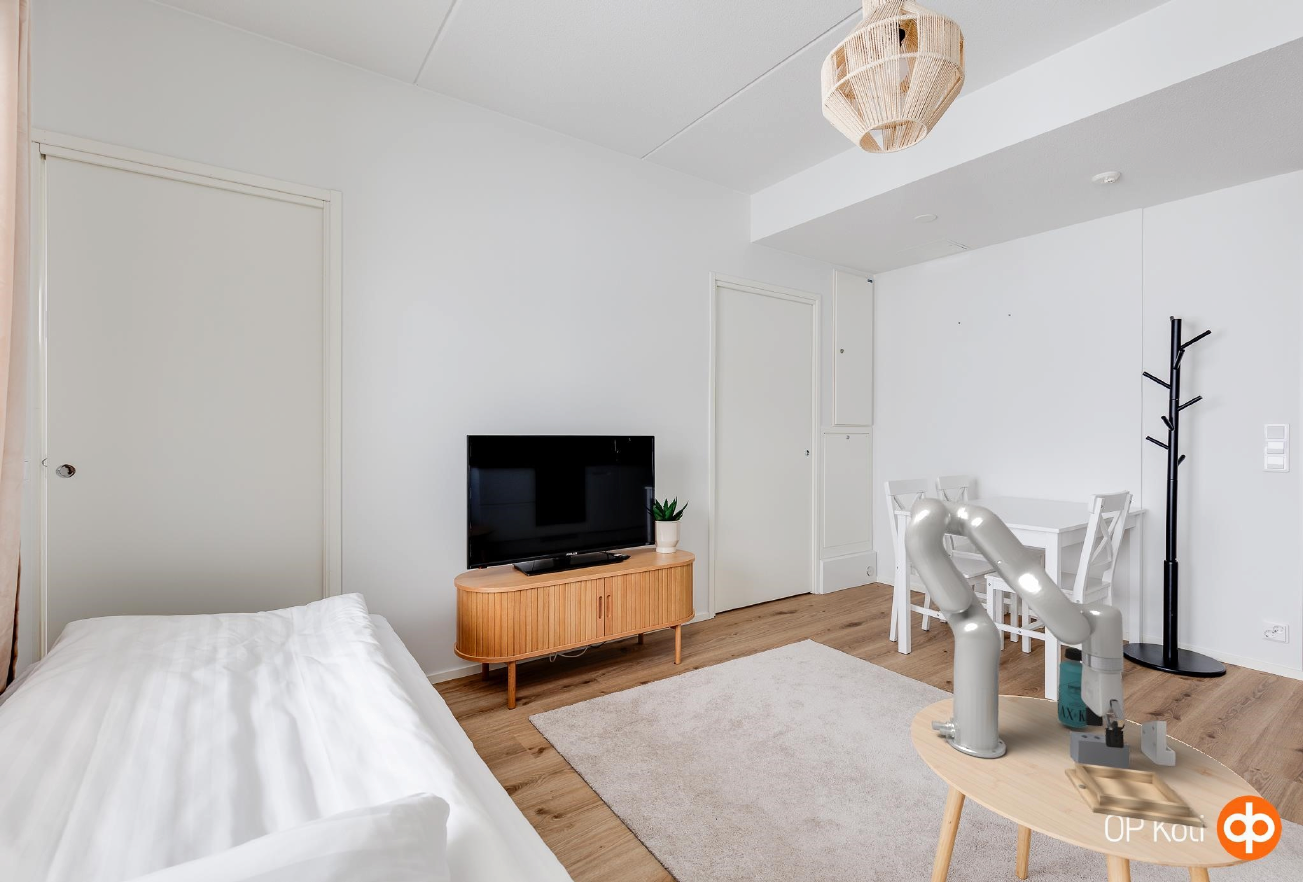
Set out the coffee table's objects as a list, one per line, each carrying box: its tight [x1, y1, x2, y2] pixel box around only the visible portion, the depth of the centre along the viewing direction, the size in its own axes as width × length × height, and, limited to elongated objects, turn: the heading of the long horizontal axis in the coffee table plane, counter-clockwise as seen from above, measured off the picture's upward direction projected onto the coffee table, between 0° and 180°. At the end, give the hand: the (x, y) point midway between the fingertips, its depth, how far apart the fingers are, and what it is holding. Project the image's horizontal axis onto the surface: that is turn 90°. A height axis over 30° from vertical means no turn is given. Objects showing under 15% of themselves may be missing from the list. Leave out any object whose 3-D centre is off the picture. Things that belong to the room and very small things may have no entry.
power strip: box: [1069, 731, 1131, 770], centre depth 137 cm, size 10×4×6 cm, turn 77°
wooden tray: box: [1064, 762, 1203, 828], centre depth 124 cm, size 18×14×3 cm
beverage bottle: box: [1057, 647, 1088, 729], centre depth 152 cm, size 6×7×20 cm
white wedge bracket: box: [1140, 720, 1176, 767], centre depth 138 cm, size 4×10×9 cm, turn 168°
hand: (1104, 735), depth 136 cm, fingers open, 9 cm apart
